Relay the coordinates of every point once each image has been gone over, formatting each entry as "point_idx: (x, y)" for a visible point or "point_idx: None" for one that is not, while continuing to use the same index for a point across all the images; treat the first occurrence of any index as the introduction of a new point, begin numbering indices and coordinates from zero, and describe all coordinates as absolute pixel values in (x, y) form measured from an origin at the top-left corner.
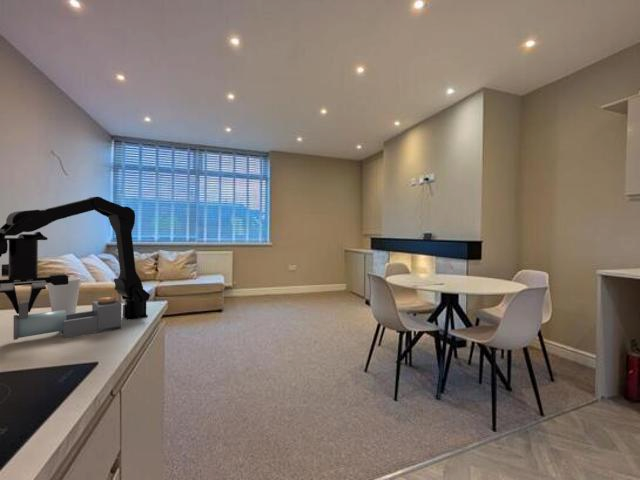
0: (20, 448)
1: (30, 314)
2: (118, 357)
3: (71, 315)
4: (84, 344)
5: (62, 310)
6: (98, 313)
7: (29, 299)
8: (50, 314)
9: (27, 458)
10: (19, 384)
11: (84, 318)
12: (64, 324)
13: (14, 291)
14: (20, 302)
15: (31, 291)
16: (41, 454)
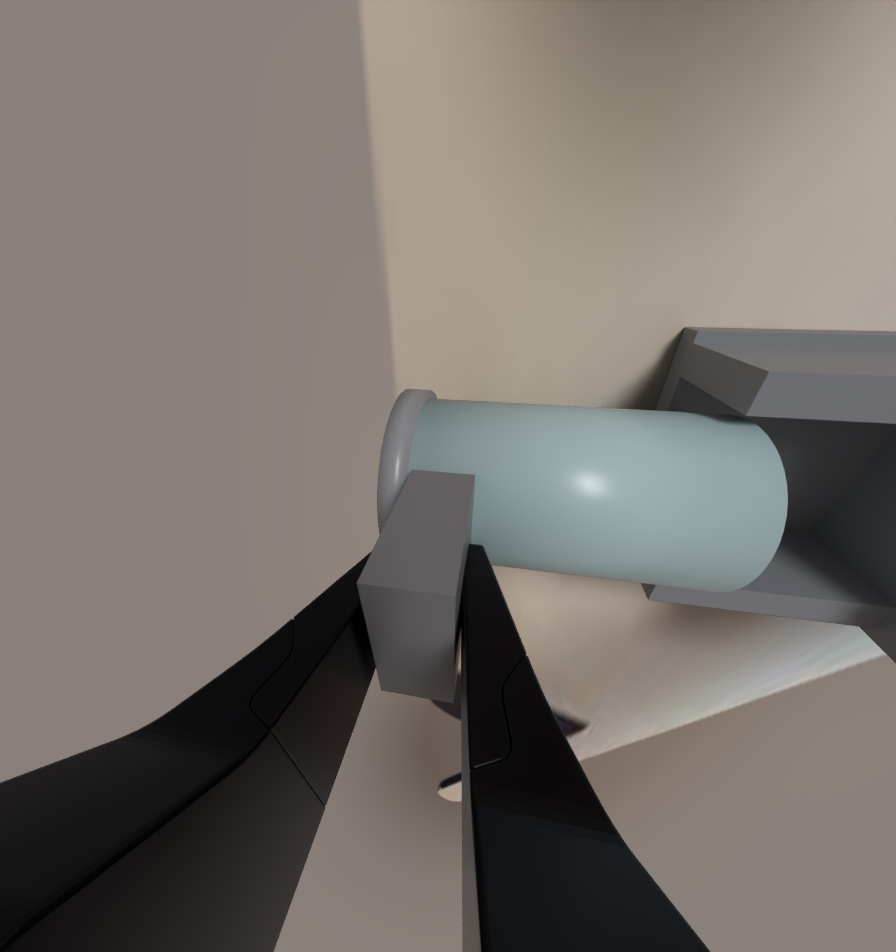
0: (445, 787)
1: (488, 538)
2: (632, 734)
3: (840, 416)
4: (632, 626)
5: (737, 569)
6: (894, 661)
7: (462, 721)
8: (613, 577)
9: (450, 795)
10: (446, 710)
11: (777, 614)
12: (644, 583)
13: (270, 935)
14: (386, 651)
15: (463, 943)
16: (459, 797)
